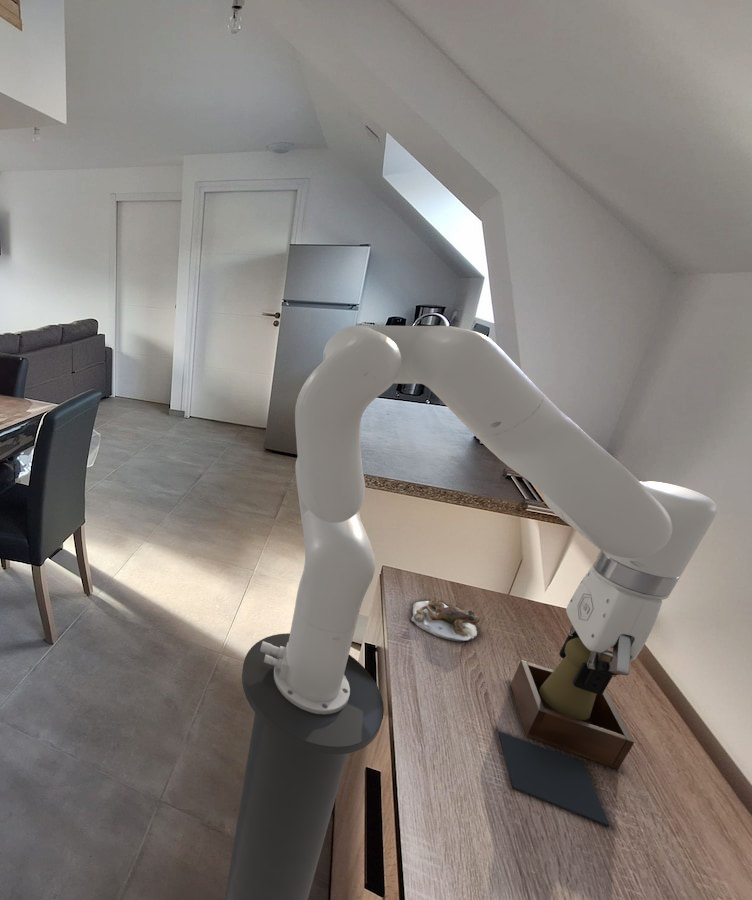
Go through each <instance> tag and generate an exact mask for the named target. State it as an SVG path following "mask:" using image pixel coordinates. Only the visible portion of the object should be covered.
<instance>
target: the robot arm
mask: <svg viewBox="0 0 752 900" xmlns="http://www.w3.org/2000/svg"><path fill="white" fill-rule="evenodd" d="M393 384H397V385H398V384H401V385H405V384H406V385H409V384H410V385H412V384H413V385H423V386H424V387H426V388H428V389H429V390H430V391H431V392H432V393H433V394H434V395H435V396H436V397H437V398H438V399H439V400H440V401H441V402H442V403H443V404H444V405H445V406H446V407H447V408H448V409H449V410H450V411H451V412H452V413H453V414H454V415H455V416H456V417H457V419H459V420H460V422H462V424H463V425H465V426H466V427H467V428H468V430H470V432H471V433H472V434H473V435H474V436H475V437H476V438H477V439H478V440H479V441H480V442H481V443H482V444H483V445H484V446H485V447H486V448H487V449H488V450H489V451H490V452H491V453H492V454H493V455H495V456H496V457H497V458H498V460H500V461H501V462H502V463H504V465H506V466H507V467H508V468H510V469H511V470H512V471H514V472H515V473H517V474H518V475H519V476H521V477H522V478H524V479H525V480H526V481H528V482H529V483H531V484H532V485H533V486H534V487H535V488H537V489H538V490H539V491H541V493H542V498H543V500H544V503H545V505H546V506H547V507H548V509H549V510H550V511H552V512H553V514H555V515H556V516H557V517H558V518H559V519H561V520H562V521H563V522H564V523H566V524H567V525H568V526H569V527H571V528H572V529H573V530H575V531H576V532H577V533H579V534H580V535H581V536H582V537H583V538H585V539H586V540H587V541H588V542H589V543H590V544H592V545H593V546H594V547H596V548H597V549H599V552H598V554H597V555H596V558H595V560H594V562H593V564H592V566H591V567H590V568H589V570H588V571H587V572H586V574H585V575H584V577H583V578H582V579H581V581H580V583H579V584H578V586H577V588H576V589H575V591H574V593H573V595H572V596H571V598H570V600H569V601H568V604H567V606H566V611H565V612H566V615H567V617H568V619H569V621H570V623H571V626H570V627H569V630H568V633H569V634H567V637H566V639H565V641H564V643H563V644H562V647H561V649H560V651H559V653H558V655H559V657H560V658H561V659H564V658H565V656H566V654H565V646H566V644H567V642H568V641H569V640H571V639H574V638H580V639H581V641H582V642H583V644H584V645H585V647H586V648H587V649H588V650H590V651H591V652H590V655H589V658H588V662H587V664H586V663H582V665H581V667H580V669H579V671H578V673H577V675H576V677H575V678H574V680H573V684H574V686H575V687H577V688H580V689H584V690H587V691H590V692H593V693H596V694H599V695H601V694H603V692H604V690H605V689H607V687H608V685H609V683H610V682H611V680H612V679H613V677H614V678H615V677H617V676H619V675H620V676H629V675H630V671H631V662H633V661H634V660H635V659H636V658H637V657H638V656H639V654H640V653H641V651H642V649H643V648H644V646H645V644H646V643H647V641H648V639H649V637H650V634H651V632H652V631H653V628H654V626H655V623H656V621H657V618H658V616H659V613H660V610H661V607H662V604H663V600H667V599H668V598H669V597H670V595H671V594H672V591H673V590H674V589H675V586H676V585H677V583H678V581H679V580H680V578H681V577H682V574H683V573H684V571H685V569H686V568H687V566H688V565H689V563H690V561H691V559H692V557H693V556H694V554H695V552H696V551H697V549H698V547H699V545H700V544H701V542H702V540H703V539H704V538H705V535H706V533H707V532H708V530H709V529H710V526H711V524H712V523H713V521H714V520H715V517H716V515H717V513H718V507H717V503H716V502H715V501H714V500H713V499H712V498H711V497H708V496H707V495H705V494H702V493H701V492H698V491H697V490H693V489H690V488H687V487H684V486H680V485H676V484H672V483H667V482H660V481H640V480H639V479H638V478H637V477H636V476H635V475H634V474H633V473H632V472H631V471H630V470H629V469H627V468H626V466H624V465H623V464H622V463H621V462H620V461H619V460H617V459H616V458H615V457H614V456H613V455H611V453H610V452H608V451H607V450H606V449H605V448H604V447H602V445H600V444H598V443H597V442H596V441H595V440H594V439H593V438H592V437H591V436H589V434H588V433H587V432H585V431H584V430H583V429H582V428H581V427H580V426H579V425H578V424H577V423H576V422H575V421H574V420H572V419H571V418H570V417H568V416H567V415H566V414H565V413H564V412H563V411H562V410H560V408H558V407H557V406H556V404H554V402H553V401H551V399H550V398H549V397H548V396H546V394H545V393H544V392H543V391H542V390H540V389H539V387H537V385H536V384H535V383H534V382H533V381H532V380H531V379H530V378H529V377H528V376H527V374H526V373H525V372H524V371H523V370H522V369H521V368H520V367H519V366H518V365H517V364H516V363H515V362H514V361H513V360H512V359H511V358H510V356H508V355H507V354H506V352H505V351H504V350H503V349H502V348H501V347H500V346H499V345H497V343H496V342H494V341H493V340H492V339H491V338H490V337H488V336H487V335H484V334H483V333H480V332H478V331H475V330H471V329H466V328H461V327H457V326H452V325H451V326H450V325H375V324H373V325H372V324H371V325H370V324H366V325H365V324H356V325H349V326H347V327H343V328H342V329H340V330H337V332H335V333H334V334H333V335H332V336H331V337H330V338H329V339H328V340H327V342H326V344H325V345H324V348H323V353H322V362H321V363H320V364H319V365H318V366H317V367H316V368H315V369H313V370H312V372H311V373H310V374H309V376H308V377H307V379H306V380H305V381H304V383H303V385H302V387H301V389H300V391H299V393H298V396H297V399H296V402H295V407H294V427H295V429H294V430H295V439H296V452H297V453H296V454H297V457H296V460H295V465H294V470H295V479H296V489H297V496H298V497H297V498H298V504H299V511H300V520H301V526H302V533H303V544H304V566H303V571H302V574H301V577H300V580H299V584H298V587H297V592H296V598H295V605H294V608H293V614H292V621H291V627H290V632H289V633H290V636H289V642H287V645H286V647H283V646H280V648H279V647H276V646H273V645H272V644H270V643H267V642H264V641H263V642H262V645H261V649H260V652H262V653H265V654H268V655H265V659H264V662H265V663H267V664H270V665H274V666H275V667H274V680H275V683H276V685H277V687H278V689H279V690H280V692H281V693H282V695H283V696H284V697H285V698H286V699H287V700H289V701H290V702H291V703H292V704H294V705H295V706H297V707H299V708H301V709H303V710H305V711H308V712H311V713H315V714H332V713H336V712H338V711H340V710H342V709H343V708H344V707H345V706H346V704H347V702H348V699H349V695H350V687H349V683H348V681H347V679H346V677H345V675H344V672H345V668H346V664H347V660H348V656H349V655H350V651H351V647H352V644H353V639H354V636H355V632H356V628H357V623H358V620H359V619H358V618H359V615H360V611H361V608H362V605H363V602H364V598H365V596H366V593H367V592H368V590H369V587H370V585H371V584H372V581H373V578H374V575H375V571H376V559H375V554H374V550H373V549H374V548H373V546H372V543H371V541H370V538H369V536H368V533H367V531H366V529H365V526H364V524H363V521H362V519H361V513H360V509H362V506H363V503H364V501H365V495H366V479H365V476H364V468H363V457H362V445H361V422H362V416H363V414H364V413H365V410H366V409H367V407H368V406H369V405H371V403H372V402H373V401H375V400H376V399H377V398H378V397H379V396H381V395H382V394H384V393H385V392H386V391H387V390H389V389H390V387H392V386H393ZM610 648H611V649H612V650H610ZM600 654H602V655H605V656H609V657H611V659H610V662H606V661H598V660H599V656H600ZM269 655H272V656H275V657H278V658H277V659H276V658H273V657H271V656H269Z"/></svg>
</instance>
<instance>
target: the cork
mask: <svg viewBox="0 0 752 900" xmlns="http://www.w3.org/2000/svg"><path fill="white" fill-rule="evenodd" d="M590 652H591V651H590V650H588V649H587V648H586V647H585V645H584V644H583V642H582V641H581V639H580V638H574V639H571V640H569V641H568V642H567V644H566V646H565V654H566V656H565V658H562V660H561V661H560V662H559V664H558V665H557V666H556V667H555V669H553V670H554V671H553V672H552V674H551V675H550V676H549V677H548V678H547V680H546V681H545V682H544V683H543V685H542V686H541V687H540V689H539V692H540V695H541V697H542V698H543V700H544V701H545V702H546V703H547V704H548V705H549V706H551V707H552V708H554V709H555V710H556V711H558V712H560V713H562V714H563V715H565V716H568V717H571V718H574V719H578V720H587V719H588V718H589V717H590V714H591V711H592V708H593V704H594V701H595V698H596V693H593V692H590V691H587V690H584V689H580V688H577V687H575V686H574V684H573V680H574V678H575V677H576V675H577V673H578V671H579V669H580V667H581V665H582V663H586V664H587V662H588V658H589V655H590ZM610 659H611V657H609V656H605V655H602V654H600V656H599V660H598V661H606V662H610Z"/></svg>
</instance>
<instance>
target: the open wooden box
mask: <svg viewBox="0 0 752 900" xmlns="http://www.w3.org/2000/svg"><path fill="white" fill-rule="evenodd" d="M554 670H555V669H552V668H549V667H545V666H542V665H539V664H535V663H532V662H530V661H525V660H522V659H521V660H520V661H519V663H518V666H517V668H516V671H515V673H514V675H513V678H512V680H511V683H510V688H511V690H512V694H513V698H514V700H515V704H516V708H517V710H518V714H519V716H520V720H521V723H522V726H523V729H524V733H525V736H526V737H527V738H529V739H532V740H535V741H536V742H537V741H538V742H540V743H543V744H546V745H548V746H551V747H553V748H556V749H559V750H563V751H565V752H567V753H571V754H574V755H575V756H579V757H582V758H585V759H587V760H590V761H593V762H596V763H598V764H601V765H603V766H606V767H610V768H613V769H614V770H615V769H616V770H619V769H620V767H621V766H622V764H623V762H624V761H625V759H626V757H627V756H628V755H629V753H630V751H631V749H632V747H633V746H634V744H635V741H634V739H633V738H632V736H631V734H630V732H629V730H628V728H627V726H626V725H625V723H624V721H623V719H622V717H621V716H620V713H619V711H618V710H617V707H616V706H615V704H614V702H613V700H612V698H611V697H610V695H609V693H608V692H607V690H606V689H607V688H606V689H605V690H604V692H603V694H601V695H599V694H596V698H595V701H594V704H593V708H592V711H591V714H590V717H589V718H588V719H587V720H578V719H574V718H571V717H568V716H565V715H563V714H562V713H560V712H558V711H556V710H555V709H554V708H552V707H551V706H549V705H548V704H547V703H546V702H545V701H544V700H543V698H542V697H541V695H540V692H539V689H540V687H541V686H542V685H543V683H544V682H545V681H546V680H547V678H548V677H549V676H550V675H551V674H552V672H553V671H554Z"/></svg>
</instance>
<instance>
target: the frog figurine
mask: <svg viewBox="0 0 752 900" xmlns="http://www.w3.org/2000/svg"><path fill="white" fill-rule="evenodd" d="M410 620H411V622H412V623H414V624H415V625H416V626H417V627H418V628H420V629H422V630H423V631H425V632H427V633H429V634H431V635H432V636H435V637H437V638H441V639H445V640H448V641H452V642H465V641H470V640H472V639H474V638H476V637H477V636H478V635H477V634H478V631H477V626H476V625H477V624H478V623H480V621H481V619H480V617H478V616H477V615H476V614H475V611H473V610H466V609H461V608H460V607H457V606H448V605H446V604H445V603H444V601H443V600H437V598H436V597H434V598H432V599H430V600H422V601H416V602H414V603H413V604H412V617H411V618H410Z"/></svg>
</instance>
